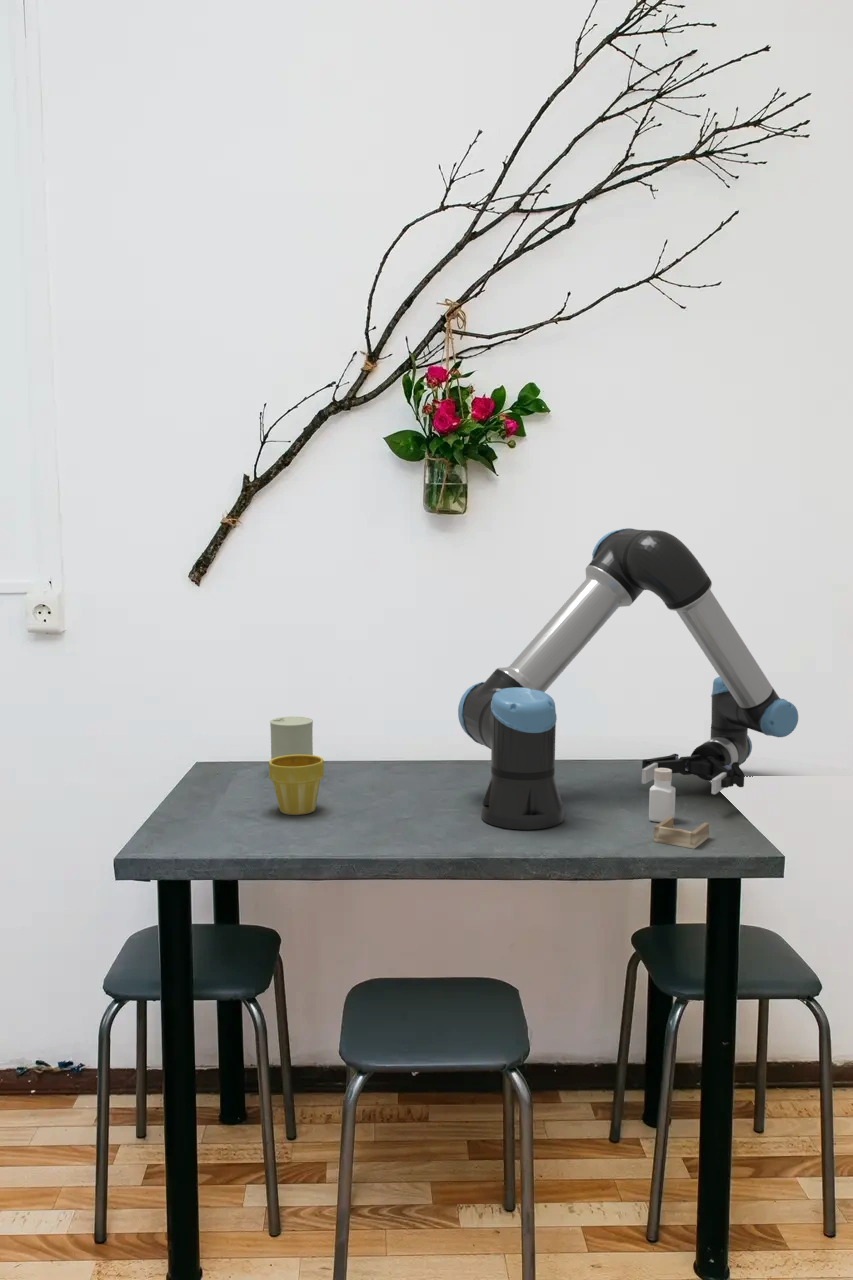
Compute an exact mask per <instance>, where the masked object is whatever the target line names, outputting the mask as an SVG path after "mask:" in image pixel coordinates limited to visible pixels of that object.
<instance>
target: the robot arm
mask: <svg viewBox="0 0 853 1280" xmlns="http://www.w3.org/2000/svg"><path fill="white" fill-rule="evenodd" d="M591 554H592V559H591V561H590V563H588V565H587V566H586V567H585V579H584V581H583V582H582V583H581V584H580V585H579V587H578V588H577V589H576V590H575V591H574V592H573V593H572V594H571V596H570V597H569V598H568V599H567V600H566V602H564V604H562V606H561V607H560V608H559V609H558V610H557V612H556V613H555V614H554V615H553V616H552V617H551V619H549V621H548V622H547V623H546V624H545V625H544V626H543V628H541V630H540V631H539V632H538V633H537V634H536V635H535V637H533V639H532V640H531V641H530V642H529V644H527V646H526V647H525V648H524V649H523V650H522V652H521V653H520V654H518V656H517V657H516V658H515V659H514V660H513V662H511V664H510V665H509V666H507V667H497V668H496V669H495V670H494V671H493V672H492V673H491V674H490V676H489V677H488V678H487V679H486V680H485V681H481V682H477V683H475V684H473V685H471V686H470V687H468V688H467V689H466V691H465V692H464V693H463V695H462V696H461V698H460V699H459V704H458V709H457V713H458V721H459V722H458V723H459V724H460V726H461V729H462V730H463V731H464V733H465V734H466V735H467V736H468V737H469V738H471V739H472V740H473V741H474V742H476V744H479V745H481V746H483V747H486V748H488V749H490V750H491V751H490V752H491V754H490V757H491V759H490V760H491V761H490V763H491V765H490V767H491V768H490V769H491V771H490V779H489V782H488V785H487V788H486V790H485V792H484V793H485V794H484V796H483V799H482V803H481V810H480V811H481V812H480V815H481V816H480V817H481V819H482V820H483V821H484V822H485V823H487V824H489V825H492V826H495V827H499V828H504V829H510V830H525V831H527V830H541V829H547V828H548V829H549V828H552V827H555V826H558V825H559V824H561V823H562V822H563V821H564V810H565V809H564V805H563V802H562V801H563V800H562V798H561V795H560V791H559V788H558V785H557V781H556V779H555V777H556V776H555V774H556V773H555V772H556V771H555V769H556V767H555V765H556V734H557V733H556V727H557V726H556V725H557V720H558V719H557V712H556V703H555V701H554V699H553V697H551V695H549V694H548V693H547V692H546V691H547V690H548V689H549V688H550V687H551V685H553V684H554V683H555V681H556V680H557V679H558V677H560V675H561V674H562V673H563V672H564V671H565V669H566V668H567V667H568V666H569V665H570V664H571V662H572V661H573V660H574V659H576V657H577V656H578V655H579V653H581V651H582V650H583V649H584V648H585V646H587V644H588V643H589V642H590V641H591V640H592V639H593V637H594V636H595V635H596V634H597V633H598V632H599V630H600V629H602V627H603V626H604V625H605V624H606V623H607V621H608V620H609V619H610V618H611V617H612V616H613V614H614V613H615V612H616V611H617V610H618V609H619V608H622V607H630V606H632V604H634V602H635V601H636V600H637V599H638V598H639V596H640V595H641V594H642V593H643V592H644V591H650V592H652V593H654V595H656V596H657V597H659V599H661V601H662V602H663V604H664V605H665V606H666V608H667V609H668V610H670V611H673V612H674V611H675V612H676V613H677V614H678V616H679V618H680V619H681V621H682V622H683V623H684V626H685V627H686V628H687V629H688V631H689V633H690V634H691V636H692V637H693V638H694V640H695V642H696V643H697V645H698V646H699V648H700V649H701V650H702V652H703V654H704V655H705V657H706V658H707V659H708V661H709V663H710V664H711V666H712V667H713V669H714V671H715V672H716V674H717V675H718V676H717V677H715V678H714V680H713V682H712V691H711V696H710V697H711V724H710V739H709V740H706V741H705V742H703V743H702V744H701V745H699V746H697V747H696V748H695V749H694V750H693V751H692V753H691V754H690V755H689V756H680V757H679V754H678V753H673V754H669V755H665V756H660V757H653V758H645V759H642V762H641V764H642V766H641V784H643V785H645V784H647V783H650V782H651V781H654V769H656V768H668V769H671V770H672V774H681V775H682V776H688V775H693V776H696V777H698V778H699V779H701V780H704V781H708V782H711V792H710V793H711V794H712V795H716V794H718V793H719V792H721V791H722V790H723V789H725V788H726V789H727V788H729V787H730V788H732V787H734V785H736V786H737V787H738V788H744V786H745V773H744V771H743V770H742V768H740V766H741V765H742V764H744V763H745V762H746V761H747V759H748V758H749V757H750V756H751V753H752V750H753V743H752V740H751V737H750V736H749V735H748V733H749V732H748V730H752V731H754V732H757V733H760V734H764V735H765V736H772V737H776V738H785V737H787V736H789V735H791V733H793V732H794V731H795V729H796V728H797V726H798V723H799V711H798V709H797V707H796V705H795V704H794V703H792V702H790V701H788V700H787V699H785V698H780V696H779V695H778V694H777V692H776V690H775V689H774V687H773V686H772V685H771V682H770V681H769V680H768V678H767V677H766V674H765V673H764V672H763V670H762V668H761V667H760V665H759V664H758V663H757V661H756V658H754V656H753V655H752V653H751V652H750V650H749V648H748V646H747V645H746V643H745V642H744V640H743V639H742V637H741V636H740V634H739V633H738V631H737V629H736V628H735V626H734V624H733V623H732V621H731V620H730V618H729V617H728V615H727V614H726V612H725V611H724V609H723V607H722V605H721V604H720V603H719V601H718V599H717V597H715V595H714V593H713V591H712V590H711V588H712V586H713V583H712V580H711V578H710V577H709V575H708V574H707V572H706V570H705V568H704V567H703V566H702V564H701V563H700V561H698V559H697V558H696V556H695V554H693V552H692V551H691V550H690V549H689V548H688V546H687V545H686V544H684V543H683V541H681V540H680V539H679V538H677V537H676V536H675V535H673V534H671V533H670V532H666V531H663V530H655V529H654V530H653V529H652V530H651V529H650V530H649V529H648V530H646V529H636V528H629V527H628V528H621V529H617V530H612V531H610V532H608V533H606V534H605V535H603V536H602V537H601V538H600V539H599V540H598V541H597V543H595V546H594V548H593V551H592V553H591Z"/></svg>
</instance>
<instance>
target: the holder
mask: <svg viewBox="0 0 853 1280" xmlns="http://www.w3.org/2000/svg"><path fill="white" fill-rule="evenodd" d="M674 819H675V817H668V818H667V819H665V820H664V821H662V822H658V824H655V826H654V829H653V830H654V831H653V842H656V843H660V844H666V845H671V846H672V845H673V846H677V847H678V846H679V847H683V848H687V849H693V850H694V849H696V848H697V847H699V846H700V845H702V844H703V843H704V842H705V841H706V840H708V839H709V836H710V835H709V834H710V823H709V822H703V823H702V824H701V825H699V826H698V827H697V828H695V829H693V831H692V830H691V831H690V830H687V829H680V828H674Z"/></svg>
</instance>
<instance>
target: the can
mask: <svg viewBox="0 0 853 1280" xmlns="http://www.w3.org/2000/svg"><path fill="white" fill-rule="evenodd" d="M313 722H314V720H313V719H312V718H309V717H306V716H305V717H304V716H282V717H277V718H273V719H271V720H270V721H269V724H270V725H269V726H270V755H271V758H270V760H271V759H273V758H276V757H279V756H285V755H298V754H302V755H314V754H313V749H314V748H313V742H314V741H313V739H314V738H313V737H314V736H313V724H314V723H313Z"/></svg>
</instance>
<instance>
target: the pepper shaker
mask: <svg viewBox="0 0 853 1280" xmlns="http://www.w3.org/2000/svg"><path fill="white" fill-rule="evenodd" d="M672 776H673V773H672V770H671V769H668V768H656V769H654V779H653V781H654V782H653V785H651V787H650V788H649V794H648V795H649V798H648V799H649V801H648V819H649V821H651V822H654V823H655V822H656V823H661V822H662V821H664V820H665V819H667V818H668V817H674V818H675V817H676V815H675V812H676V787H675V786H673V785H672V780H673V779H672V778H673V777H672Z"/></svg>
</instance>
